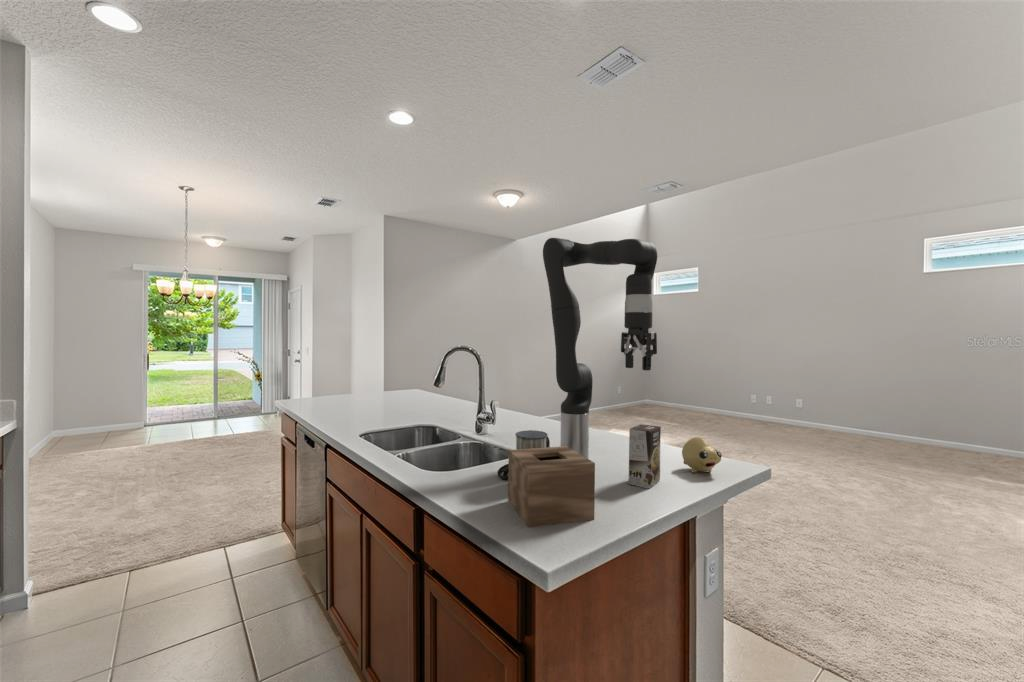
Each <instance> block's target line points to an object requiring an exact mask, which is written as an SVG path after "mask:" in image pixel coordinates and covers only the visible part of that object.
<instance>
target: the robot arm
mask: <svg viewBox="0 0 1024 682" xmlns="http://www.w3.org/2000/svg"><path fill="white" fill-rule="evenodd" d="M542 258H543V259H542V260H543V265H544V270H545V274H546V279H547V284H548V290H549V291H548V292H549V298H550V308H551V317H552V326H553V333H554V336H553V337H554V346H555V375H556V377H555V379H556V382H557V385H558V387H559V388H560V390H561V391H563V392H564V393H567V396H566V397H565V399H564V400H563V401H562V402H561V403H560V441H559V444H560V445H559V447H561V446H567V447H569V448H570V449H572V450H574V451H576V452H577V453H579V454H581V455H582V456H584V457H586V458H587V459H589V454H590V453H589V452H590V451H589V448H590V446H589V444H590V442H589V441H590V435H589V434H590V432H589V431H590V427H589V426H590V422H589V421H590V408H591V407H590V406H591V404H592V400H593V373H592V370H591V368H590V367H589V366H588V365H587V364H585V363H583V362H582V363H581V362H578V361H577V353H576V352H577V351H576V347H577V346H576V344H577V340H578V336H579V333H580V329H581V323H582V320H581V310H580V304H579V301H578V299H577V297H576V295H575V293H574V291H573V290H572V288H571V286H570V285H569V283H568V281H567V279H566V275H565V270H564V268H567V267H572V266H579V265H583V264H593V265H594V264H595V265H602V266H603V265H604V266H605V265H606V266H616V265H617V266H618V265H621V264H623V265H630V266H631V265H632V266H634V272H633V273H632V274H629V275H628V276H627V277H626V279H625V280H626V281H625V298H624V299H625V300H624V325H623V326H624V328H625V329H628V331H627V332H626V331H623V332H621V336H620V338H621V339H620V352H621V353H623V354H624V356H625V358H624V359H625V361H624V362H625V368H627V369H633V368H634V357H635V356H634V353H635V351H636V350H639V351H640V352H641V354H642V360H641V361H642V362H641V364H642V366H641V367H642V370H643V371H651V369H652V357H653V355H657V353H658V343H657V342H658V341H657V338H658V337H657V332H656V331H650V330H649V329H651V328H653V294H652V292H653V289H652V288H653V283H652V280H653V278H654V274H655V271H656V266H657V262H658V250H657V247H656V246H655V244H654V243H652V242H650V241H646V240H642V239H637V238H626V239H625V238H623V239H620V240H604V241H603V240H602V241H601V240H600V241H597V242H592V243H581V242H576V241H573V240H570V239H565V238H560V237H550V238H548V239H546V240H545V242H544V244H543V246H542Z"/></svg>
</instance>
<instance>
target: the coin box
mask: <svg viewBox="0 0 1024 682" xmlns="http://www.w3.org/2000/svg"><path fill="white" fill-rule="evenodd" d="M507 464H508V475H507V476H508V480H507V481H508V483H507V485H508V487H507V489H508V490H507V499H508V500H507V501H508V504H510V505H511V507H512V508H513V510H514V511H515V512H516V513H517V514H518V516H519V517H520V518H521V519H522V521H523V522H524V523H525V525H526V527H527V528H537V527H544V526H551V525H559V524H567V523H575V522H583V521H591V520H595V508H596V507H595V498H596V495H595V494H596V493H595V492H596V491H595V490H596V488H595V487H596V484H595V482H596V481H595V480H596V479H595V477H596V463H595V462H594V461H592V460H590V459H589V458H588V459H587V458H586V457H584V456H582V455H581V454H579V453H577V452H576V451H574V450H572V449H570V448H569V447H567V446H561V447H560V446H552V447H547V448H533V449H518V450H516V449H508V462H507Z"/></svg>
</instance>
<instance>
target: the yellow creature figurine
mask: <svg viewBox="0 0 1024 682" xmlns="http://www.w3.org/2000/svg"><path fill="white" fill-rule="evenodd" d="M681 455H682V459H683V464H684V465H685V466H686V465H687V466H688V467H689V468H691V471H693V472H692V473H694V472H696V473H697V472H702V471H704V472H707V471H711V470H712V469H713V468H714V467H715V466H716V465H718V464H719V463H720V462H721V461H722V456H723V455H722V452H721V451H719V450H717V449H715V448H713V446H712V445H711V444H710V443H708V441H706V440H705V439H703V438H702V437H699V436H695V437H692V438H690V439H689V440H687V441H686V442H685V443H684V445H683V447H682V449H681ZM711 472H712V471H711Z"/></svg>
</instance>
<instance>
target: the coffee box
mask: <svg viewBox="0 0 1024 682" xmlns="http://www.w3.org/2000/svg"><path fill="white" fill-rule="evenodd" d="M661 429H662V428H661V426H657V425H650V424H649V425H648V424H638V425H635V426H633V427H631V428H629V439H628V440H629V441H628V442H629V443H628V447H629V448H628V485H630V484H631V486H634V485H636V486H635V487H639V486H640V487H639V488H643V487H645V488H644V489H647V488H650V489H651V488H652V487H654V486H655V485H656V484H658V483H659V482H660V481H661V435H662V434H661ZM659 480H660V481H659ZM658 481H659V482H658ZM657 482H658V483H657ZM654 484H655V485H654ZM653 485H654V486H653Z"/></svg>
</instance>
